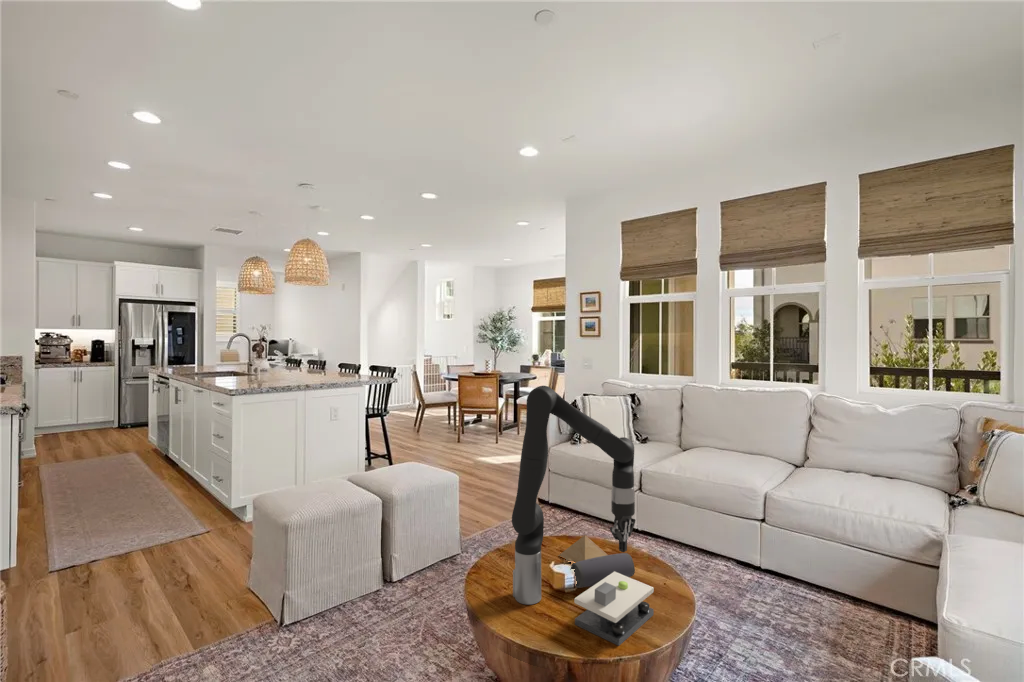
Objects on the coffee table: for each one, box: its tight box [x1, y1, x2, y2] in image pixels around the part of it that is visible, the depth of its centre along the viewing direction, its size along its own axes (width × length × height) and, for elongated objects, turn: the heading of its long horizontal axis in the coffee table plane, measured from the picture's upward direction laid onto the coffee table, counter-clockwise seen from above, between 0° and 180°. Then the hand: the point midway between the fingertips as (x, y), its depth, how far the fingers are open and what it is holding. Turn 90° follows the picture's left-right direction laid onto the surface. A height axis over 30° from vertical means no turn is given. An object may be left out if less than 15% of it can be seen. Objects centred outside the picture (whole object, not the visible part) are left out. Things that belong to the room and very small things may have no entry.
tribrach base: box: [574, 601, 655, 647], centre depth 163 cm, size 16×22×6 cm
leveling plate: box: [574, 571, 655, 623], centre depth 163 cm, size 15×24×7 cm, turn 137°
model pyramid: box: [557, 534, 608, 562], centre depth 208 cm, size 17×17×10 cm
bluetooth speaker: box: [570, 552, 636, 589], centre depth 186 cm, size 23×9×10 cm, turn 111°
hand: (622, 550), depth 167 cm, fingers closed
